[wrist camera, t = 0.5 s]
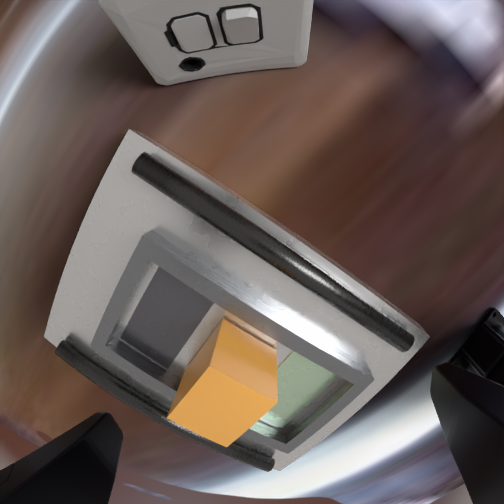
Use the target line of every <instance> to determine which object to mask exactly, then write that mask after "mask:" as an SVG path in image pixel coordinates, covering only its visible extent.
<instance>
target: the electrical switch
mask: <svg viewBox="0 0 504 504" xmlns="http://www.w3.org/2000/svg"><path fill="white" fill-rule="evenodd" d="M98 3H99V5H100V6H101V7H102V9H103V10H104V11H105V13H106V14H107V15H108V17H109V18H110V19H111V21H112V22H113V23H114V25H115V26H116V27H117V29H118V30H119V31H120V33H121V34H122V36H123V37H124V38H125V40H126V41H127V42H128V44H129V45H130V46H131V48H132V49H133V51H134V52H135V53H136V55H137V56H138V57H139V59H140V60H141V62H142V63H143V64H144V66H145V67H146V69H147V70H148V71H149V73H150V74H151V75H152V77H153V78H154V80H155V81H156V82H157V83H158V84H162V85H172V84H176V83H181V82H186V81H191V80H196V79H201V78H206V77H212V76H218V75H224V74H231V73H238V72H246V71H254V70H263V69H274V68H286V67H298V66H301V65H302V64H304V63H305V62H306V59H307V52H308V45H309V36H310V27H311V18H312V8H313V0H99V1H98Z"/></svg>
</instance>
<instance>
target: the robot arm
mask: <svg viewBox="0 0 504 504" xmlns="http://www.w3.org/2000/svg"><path fill="white" fill-rule="evenodd" d="M430 393H431V398H432V401H433V403H434V406H435V409H436V412H437V415H438V418H439V421H440V424H441V427H442V430H443V433H444V436H445V439H446V442H447V444H448V446H449V449H450V451H451V453H452V455H453V457H454V460H455V462H456V464H457V466H458V469H459V471H460V473H461V476H462V478H463V480H464V483H465V485H466V487H467V490H468V492H469V495H470V497H471V500H472V502H473V504H504V317H503V316H502V315H501V314H500V312H499V311H498V310H497V309H495V308H492V309H491V310H490V311H489V312H488V314H487V315H486V317H485V318H484V319H483V321H482V322H481V323H480V325H479V326H478V327H477V329H476V330H475V331H474V332H473V334H472V335H471V336H470V337H469V339H468V340H467V341H466V342H465V344H464V345H463V346H462V347H461V348H460V350H459V351H458V352H457V353H456V354H455V356H454V357H453V358H452V359H451V360H450V362H445V363H442V364H440V365H437V366H435V367H434V368H433V372H432V381H431V389H430ZM122 441H123V433H122V430H121V429H120V427H119V426H118V424H117V423H116V421H115V420H114V418H113V416H112V415H111V414H110V413H107V412H97V413H95V414H94V415H92V416H90V417H89V418H87V419H86V420H84V421H83V422H81V423H79V424H78V425H76V426H75V427H73V428H71V429H70V430H68V431H67V432H65V433H63V434H62V435H60V436H58V437H57V438H55V439H54V440H52V441H50V442H49V443H47V444H45V445H44V446H42V447H40V448H39V449H37V450H35V451H34V452H32V453H30V454H28V455H27V456H25V457H23V458H22V459H20V460H18V461H17V462H15V463H13V464H11V465H9V466H8V467H6V468H4V469H2V470H0V504H108V502H109V498H110V495H111V491H112V488H113V485H114V481H115V477H116V472H117V467H118V462H119V457H120V451H121V446H122Z"/></svg>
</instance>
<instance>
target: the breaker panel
mask: <svg viewBox="0 0 504 504" xmlns="http://www.w3.org/2000/svg"><path fill="white" fill-rule="evenodd" d="M223 318H224V319H225V320H227V321H228V322H230V323H232V324H233V325H235V326H237V327H238V328H240V329H242V330H243V331H245V332H247V333H248V334H250V335H252V336H253V337H255V338H257V339H258V340H260V341H262V342H263V343H265V344H267V345H268V346H270V347H272V348H274V349H275V350H276V352H277V388H278V403H277V404H275V405H274V406H273V407H272V408H271V409H270V410H269V411H268V412H267V413H266V414H265V415H264V416H263V417H261V418H260V419H259V420H258V421H257V422H256V423H255V424H254V425H252V426H251V427H250V428H249V429H248V430H247V431H246V432H244V433H243V434H242V435H241V436H240V437H239V438H237V439H236V440H235V441H234V442H233V443H231V444H230V445H229V446H228V447H225V446H222V445H220V444H218V443H216V442H213V441H211V440H209V439H207V438H205V437H203V436H201V435H199V434H197V433H195V432H193V431H191V430H189V429H187V428H185V427H183V426H181V425H179V424H177V423H175V422H173V421H171V420H170V419H168V418H167V416H168V413H169V411H170V408H171V405H172V403H173V400H174V398H175V395H176V392H177V390H178V387H179V385H180V382H181V380H182V377H183V375H184V372H185V369H186V368H187V366H188V365H189V364H190V362H191V361H192V360H193V358H194V357H195V356H196V354H197V353H198V352H199V350H200V349H201V348H202V346H203V345H204V344H205V342H206V341H207V340H208V338H209V337H210V336H211V334H212V333H213V332H214V330H215V329H216V328H217V326H218V325H219V324H220V322H221V321H222V320H223ZM44 337H45V338H46V339H47V340H48V341H49V342H51V343H52V344H53V345H54V346H55V347H57V348H56V351H55V353H56V354H57V355H58V356H59V357H60V358H62V359H63V360H64V361H66V362H67V363H68V364H69V365H71V366H72V367H73V368H75V369H76V370H77V371H79V372H80V373H81V374H83V375H84V376H85V377H87V378H88V379H90V380H91V381H92V382H94V383H95V384H97V385H98V386H100V387H101V388H102V389H104V390H105V391H107V392H108V393H110V394H111V395H113V396H114V397H116V398H117V399H119V400H121V401H122V402H124V403H125V404H127V405H129V406H130V407H132V408H133V409H135V410H137V411H138V412H140V413H142V414H143V415H145V416H147V417H149V418H150V419H152V420H154V421H156V422H158V423H159V424H161V425H163V426H165V427H167V428H169V429H170V430H172V431H174V432H176V433H178V434H180V435H182V436H184V437H186V438H188V439H190V440H192V441H194V442H196V443H198V444H201V445H203V446H205V447H207V448H209V449H211V450H214V451H216V452H218V453H221V454H223V455H225V456H228V457H230V458H232V459H235V460H237V461H240V462H242V463H245V464H248V465H250V466H253V467H256V468H258V469H261V470H264V471H267V472H269V471H271V470H272V468H273V469H276V470H279V471H281V470H282V469H284V468H285V467H286V466H288V465H289V464H291V463H292V462H294V461H295V460H297V459H298V458H299V457H301V456H302V455H304V454H305V453H306V452H308V451H309V450H310V449H312V448H313V447H314V446H316V445H317V444H318V443H320V442H321V441H322V440H323V439H325V438H326V437H327V436H328V435H330V434H331V433H332V432H333V431H335V430H336V429H337V428H338V427H340V426H341V425H342V424H343V423H344V422H345V421H347V420H348V419H349V418H350V417H351V416H352V415H354V414H355V413H356V412H357V411H358V410H359V409H360V408H362V407H363V406H364V405H365V404H366V403H367V402H368V401H369V400H370V399H371V398H372V397H373V396H375V395H376V394H377V393H378V392H379V391H380V390H381V389H382V388H383V387H384V386H385V385H386V384H387V383H388V382H389V381H390V380H391V379H392V378H393V377H394V376H395V375H396V374H397V373H398V372H399V371H400V370H401V369H402V368H403V367H404V365H405V364H406V363H407V362H408V361H409V360H410V359H411V358H412V357H413V356H414V355H415V354H416V352H417V351H418V350H419V349H420V348H421V347H422V346H423V345H424V343H425V342H426V341H427V340H428V339H429V338H430V336H429V335H428V334H427V333H426V331H425V330H424V329H423V328H422V327H421V325H420V324H419V323H417V322H416V321H415V320H413V319H412V318H411V317H410V316H408V315H407V314H406V313H404V312H403V311H402V310H400V309H399V308H398V307H396V306H395V305H394V304H393V303H391V302H390V301H389V300H387V299H386V298H385V297H383V296H382V295H381V294H379V293H378V292H377V291H375V290H374V289H373V288H371V287H370V286H369V285H367V284H366V283H365V282H363V281H362V280H360V279H359V278H358V277H356V276H355V275H354V274H352V273H351V272H350V271H348V270H347V269H345V268H344V267H343V266H341V265H340V264H339V263H337V262H336V261H334V260H333V259H332V258H330V257H329V256H327V255H326V254H325V253H323V252H322V251H320V250H319V249H318V248H316V247H315V246H313V245H312V244H311V243H309V242H308V241H306V240H305V239H303V238H302V237H301V236H299V235H298V234H296V233H295V232H293V231H292V230H291V229H289V228H288V227H286V226H285V225H283V224H282V223H281V222H279V221H278V220H276V219H275V218H273V217H272V216H270V215H269V214H267V213H266V212H264V211H263V210H262V209H260V208H259V207H257V206H256V205H254V204H253V203H251V202H250V201H248V200H247V199H245V198H244V197H242V196H241V195H239V194H238V193H236V192H235V191H233V190H232V189H230V188H229V187H227V186H226V185H224V184H223V183H221V182H220V181H218V180H217V179H215V178H213V177H212V176H210V175H209V174H207V173H206V172H204V171H203V170H201V169H200V168H198V167H197V166H195V165H193V164H192V163H190V162H189V161H187V160H186V159H184V158H182V157H181V156H179V155H178V154H176V153H175V152H173V151H171V150H170V149H168V148H167V147H165V146H163V145H162V144H160V143H159V142H157V141H155V140H154V139H152V138H151V137H149V136H147V135H146V134H144V133H142V132H139V131H135V130H131V129H129V130H128V132H127V134H126V135H125V137H124V139H123V141H122V142H121V144H120V146H119V148H118V150H117V151H116V153H115V155H114V157H113V159H112V161H111V163H110V165H109V167H108V169H107V170H106V172H105V174H104V176H103V178H102V180H101V182H100V185H99V187H98V189H97V191H96V193H95V195H94V197H93V199H92V202H91V204H90V206H89V208H88V210H87V213H86V215H85V217H84V220H83V222H82V224H81V227H80V229H79V232H78V234H77V236H76V239H75V241H74V244H73V247H72V249H71V252H70V255H69V257H68V260H67V263H66V265H65V268H64V271H63V274H62V277H61V280H60V283H59V286H58V289H57V292H56V295H55V299H54V302H53V305H52V309H51V312H50V316H49V319H48V323H47V327H46V331H45V335H44Z"/></svg>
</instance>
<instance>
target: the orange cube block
mask: <svg viewBox="0 0 504 504" xmlns="http://www.w3.org/2000/svg"><path fill="white" fill-rule="evenodd" d="M277 403H278V388H277V352H276V350H275V349H274V348H272V347H270V346H268V345H267V344H265V343H263V342H262V341H260V340H258V339H257V338H255V337H253V336H252V335H250V334H248V333H247V332H245V331H243V330H242V329H240V328H238V327H237V326H235V325H233V324H232V323H230V322H228V321H227V320H225V319H224V318H223V320H222V321H221V322H220V324H219V325H218V326H217V328H216V329H215V330H214V332H213V333H212V334H211V336H210V337H209V338H208V340H207V341H206V342H205V344H204V345H203V346H202V348H201V349H200V350H199V352H198V353H197V354H196V356H195V357H194V358H193V360H192V361H191V362H190V364H189V365H188V366H187V368H186V369H185V372H184V375H183V377H182V380H181V382H180V385H179V387H178V390H177V392H176V395H175V398H174V400H173V403H172V405H171V408H170V411H169V413H168V416H167V418H168V419H170V420H171V421H173V422H175V423H177V424H179V425H181V426H183V427H185V428H187V429H189V430H191V431H193V432H195V433H197V434H199V435H201V436H203V437H205V438H207V439H209V440H211V441H213V442H216V443H218V444H220V445H222V446H225V447H228V446H229V445H230V444H231V443H233V442H234V441H235V440H236V439H237V438H239V437H240V436H241V435H242V434H243V433H244V432H246V431H247V430H248V429H249V428H250V427H251V426H252V425H254V424H255V423H256V422H257V421H258V420H259V419H260V418H261V417H263V416H264V415H265V414H266V413H267V412H268V411H269V410H270V409H271V408H272V407H273V406H274V405H275V404H277Z"/></svg>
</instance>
